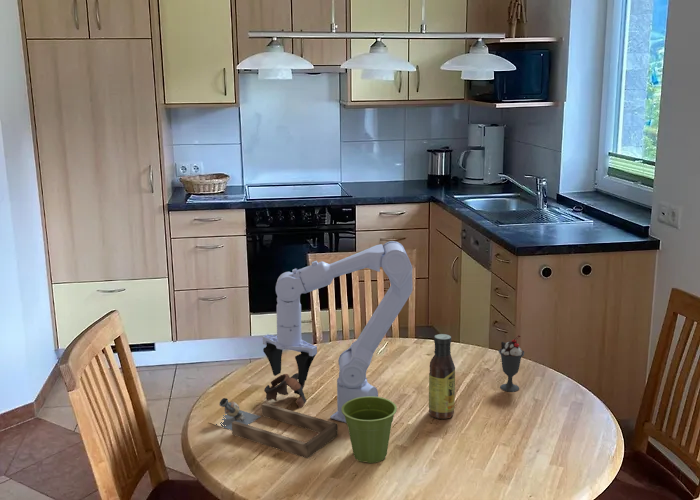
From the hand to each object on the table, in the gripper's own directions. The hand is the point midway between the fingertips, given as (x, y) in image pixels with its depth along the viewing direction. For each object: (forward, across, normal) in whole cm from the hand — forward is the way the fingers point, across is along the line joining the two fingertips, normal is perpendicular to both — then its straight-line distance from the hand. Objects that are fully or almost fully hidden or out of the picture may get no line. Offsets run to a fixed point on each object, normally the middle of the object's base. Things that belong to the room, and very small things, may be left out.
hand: (289, 377), depth 173 cm
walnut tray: (+10, +4, -8) cm, 14 cm away
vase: (+11, -11, -8) cm, 18 cm away
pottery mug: (+11, -6, +8) cm, 14 cm away
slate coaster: (+11, -11, -8) cm, 17 cm away
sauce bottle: (+10, +30, +20) cm, 38 cm away
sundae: (+10, +40, +43) cm, 59 cm away
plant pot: (+10, +26, -6) cm, 28 cm away
